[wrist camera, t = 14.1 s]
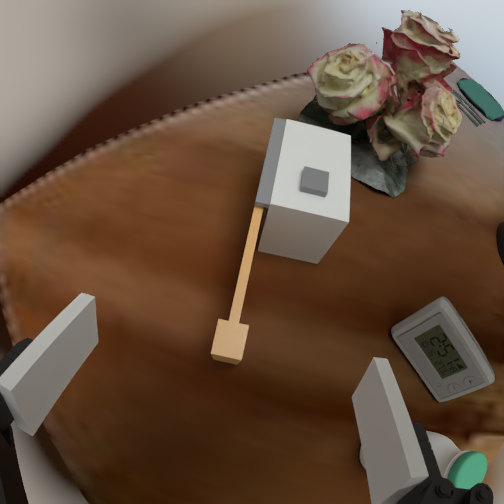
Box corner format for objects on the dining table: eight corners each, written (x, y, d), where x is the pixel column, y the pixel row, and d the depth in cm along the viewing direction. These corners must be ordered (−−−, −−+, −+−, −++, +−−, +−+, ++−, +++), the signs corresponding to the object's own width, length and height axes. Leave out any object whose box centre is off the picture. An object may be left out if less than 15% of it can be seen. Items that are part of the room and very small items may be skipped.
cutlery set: (507, 118, 75) (510, 114, 73) (479, 133, 67) (483, 128, 65) (470, 80, 81) (472, 75, 79) (433, 86, 73) (436, 81, 71)
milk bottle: (370, 418, 38) (463, 431, 19) (410, 430, 37) (507, 441, 18) (349, 467, 34) (430, 509, 16) (391, 476, 34) (479, 509, 15)
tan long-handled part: (237, 364, 38) (241, 360, 29) (213, 359, 38) (210, 353, 29) (262, 240, 45) (273, 203, 36) (241, 236, 45) (247, 198, 36)
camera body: (317, 264, 46) (352, 218, 33) (246, 248, 46) (256, 195, 33) (325, 182, 52) (353, 125, 39) (264, 168, 52) (277, 106, 39)
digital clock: (383, 327, 43) (422, 310, 33) (423, 301, 45) (463, 280, 35) (423, 415, 38) (468, 417, 28) (460, 383, 40) (504, 377, 30)
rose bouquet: (275, 134, 55) (308, -15, 28) (357, 86, 65) (398, -17, 38) (384, 228, 50) (492, 100, 22) (442, 154, 59) (511, 60, 32)
